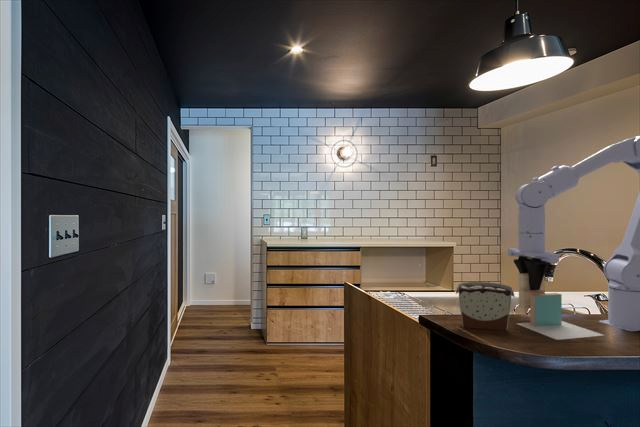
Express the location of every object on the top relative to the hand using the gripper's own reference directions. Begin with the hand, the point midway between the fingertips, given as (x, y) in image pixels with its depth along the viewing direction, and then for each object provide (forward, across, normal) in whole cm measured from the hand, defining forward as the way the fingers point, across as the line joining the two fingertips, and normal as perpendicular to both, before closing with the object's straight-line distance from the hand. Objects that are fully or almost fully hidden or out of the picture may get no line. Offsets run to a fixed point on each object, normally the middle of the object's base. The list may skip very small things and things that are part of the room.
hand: (531, 289), depth 97 cm
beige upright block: (+4, 0, 0) cm, 4 cm away
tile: (+7, +4, 0) cm, 9 cm away
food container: (+8, +1, -14) cm, 16 cm away
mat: (+8, +8, 0) cm, 11 cm away
